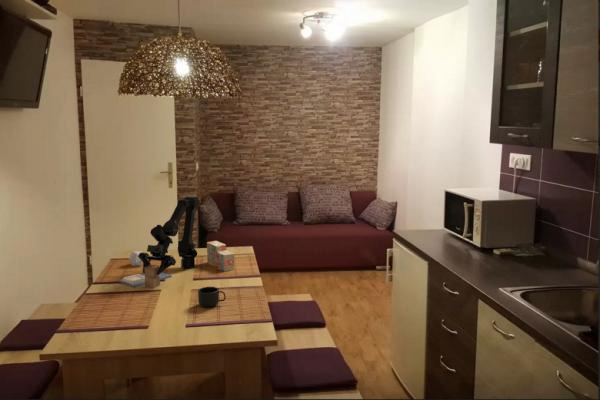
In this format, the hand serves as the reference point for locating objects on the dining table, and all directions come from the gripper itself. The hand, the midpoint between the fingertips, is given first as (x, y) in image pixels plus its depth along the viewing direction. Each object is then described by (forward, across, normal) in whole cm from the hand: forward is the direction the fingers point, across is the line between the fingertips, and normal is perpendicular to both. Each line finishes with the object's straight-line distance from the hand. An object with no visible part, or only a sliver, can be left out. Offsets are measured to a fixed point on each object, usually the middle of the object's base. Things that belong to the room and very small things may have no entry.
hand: (150, 274), depth 247 cm
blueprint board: (-2, -10, +11) cm, 15 cm away
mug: (+13, +40, -4) cm, 42 cm away
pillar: (+4, 0, +6) cm, 7 cm away
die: (-16, -29, +26) cm, 42 cm away
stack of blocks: (-26, +15, +36) cm, 46 cm away
